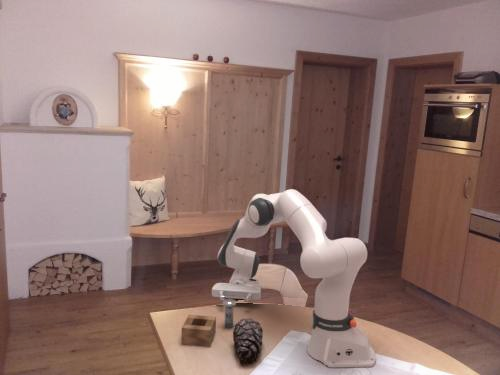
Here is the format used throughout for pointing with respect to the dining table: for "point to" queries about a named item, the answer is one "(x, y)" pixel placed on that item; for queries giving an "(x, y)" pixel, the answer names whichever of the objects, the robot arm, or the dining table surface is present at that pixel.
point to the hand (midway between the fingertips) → (234, 299)
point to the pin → (229, 312)
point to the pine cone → (247, 340)
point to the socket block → (199, 330)
